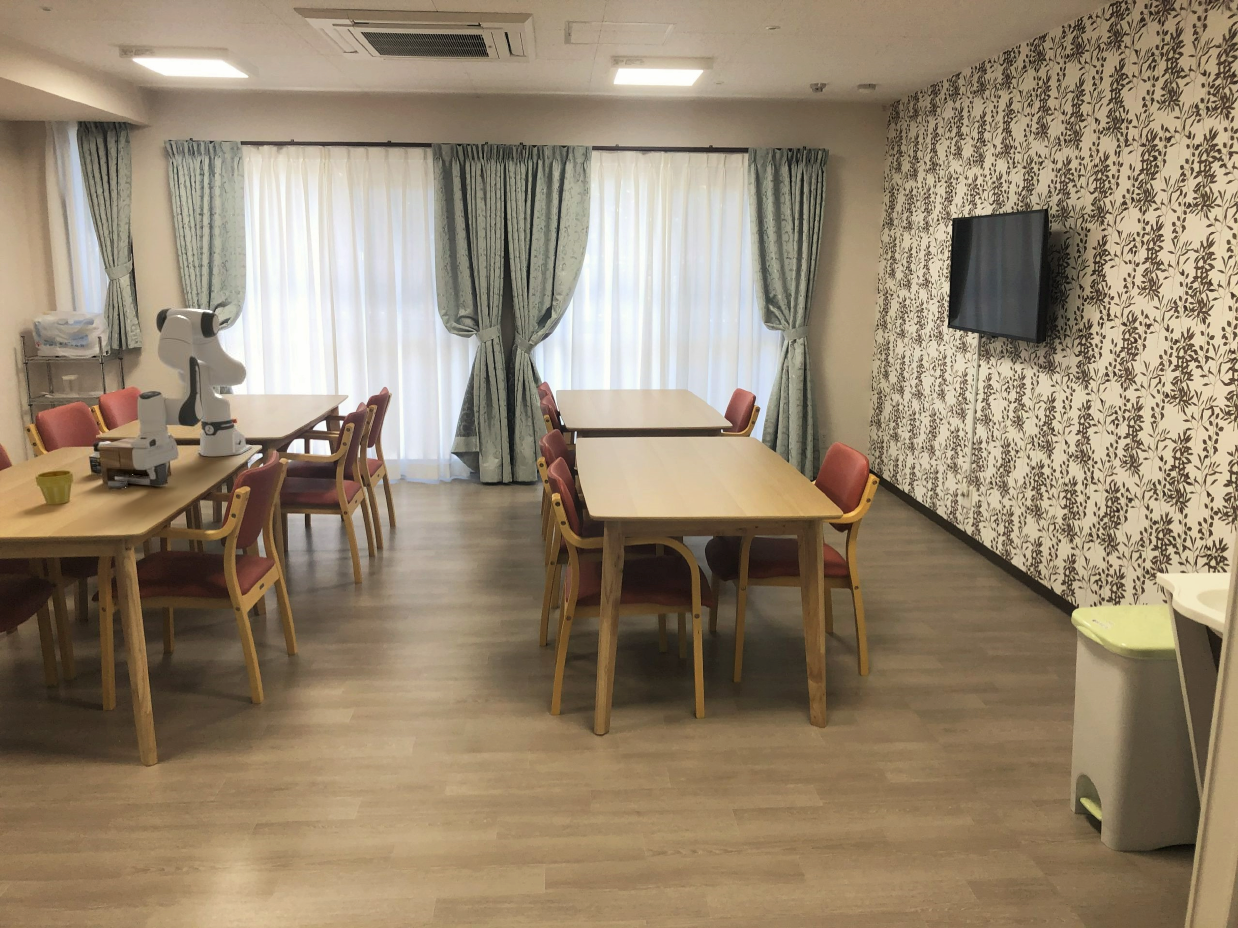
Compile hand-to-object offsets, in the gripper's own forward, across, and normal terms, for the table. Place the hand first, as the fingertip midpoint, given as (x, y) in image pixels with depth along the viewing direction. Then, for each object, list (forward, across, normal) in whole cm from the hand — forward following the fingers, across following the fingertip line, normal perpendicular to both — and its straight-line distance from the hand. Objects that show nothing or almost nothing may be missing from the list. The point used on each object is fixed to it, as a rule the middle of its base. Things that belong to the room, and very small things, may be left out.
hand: (158, 476), depth 321 cm
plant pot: (+4, +24, -20) cm, 32 cm away
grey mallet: (+3, -1, -8) cm, 8 cm away
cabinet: (+4, -11, -16) cm, 20 cm away
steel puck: (+4, +3, -14) cm, 15 cm away
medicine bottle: (+4, -18, -34) cm, 39 cm away
